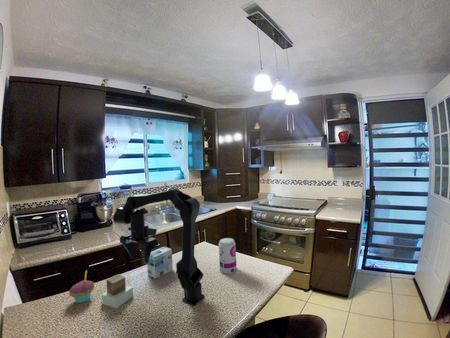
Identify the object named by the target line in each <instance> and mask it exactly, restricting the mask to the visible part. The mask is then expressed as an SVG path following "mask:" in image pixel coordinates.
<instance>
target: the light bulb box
mask: <svg viewBox="0 0 450 338" xmlns="http://www.w3.org/2000/svg"><path fill="white" fill-rule="evenodd" d="M146 265H147V266H146V268H147V269H146V270H147V276H149V277H150V278H152V277H153V279H154V278H155V279H154V280H156V278H157V279H159V278H160V277H162V276H164V275H166V274H168V273H170V272H172V271H174V267H173V250H172V248H169V247H167V246H162V247H160V248H158V249H155V250H152V251H151V254H150V257H149V261H148V262H147V263H146Z"/></svg>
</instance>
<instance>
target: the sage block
mask: <svg viewBox="0 0 450 338" xmlns="http://www.w3.org/2000/svg"><path fill="white" fill-rule="evenodd" d="M133 296H134V287H133V286H130V285H126V290H124V291H122V292H120V293H118V294H116V295H114V296H113V295H111V294H110V293H108V292H107V290H106V291H105V292H103V293H102V294H101V304H102V305H104V306H109V307H111V308H114V309H119V308H120V306H122V305H123V304H124V303H126V302H127V301H128V300H130V299H131V298H132V297H133Z"/></svg>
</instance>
